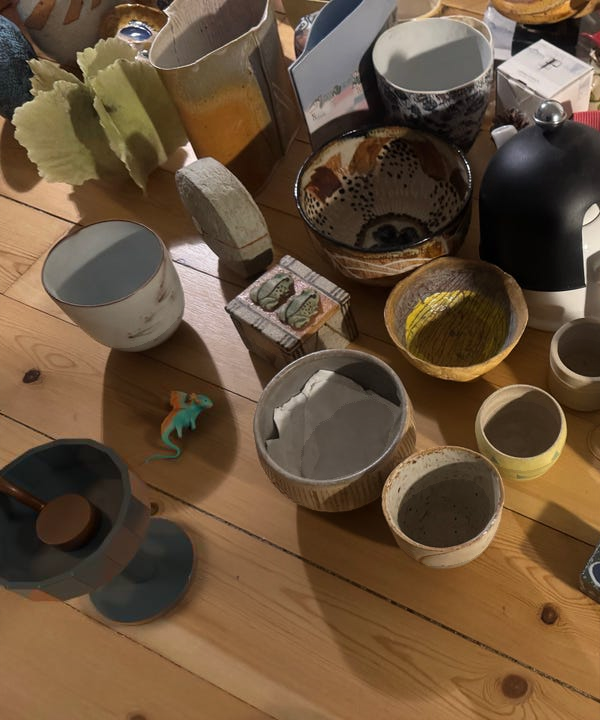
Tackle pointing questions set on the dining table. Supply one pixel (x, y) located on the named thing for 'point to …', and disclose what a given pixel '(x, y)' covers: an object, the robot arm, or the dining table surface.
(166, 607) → the bowl
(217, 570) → the dining table surface
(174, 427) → the dragon figurine
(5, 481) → the ladle
